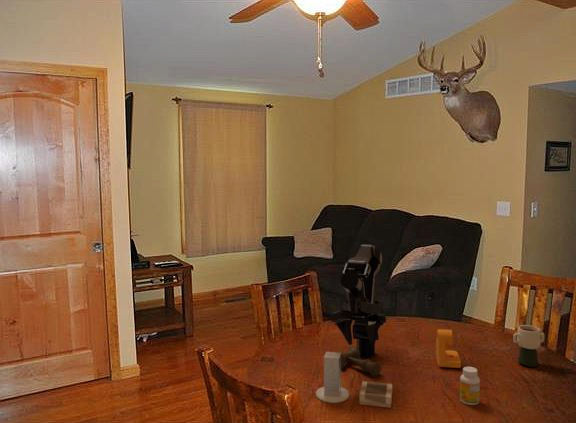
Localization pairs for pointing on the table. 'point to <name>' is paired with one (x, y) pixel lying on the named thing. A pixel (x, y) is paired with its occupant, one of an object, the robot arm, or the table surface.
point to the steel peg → (332, 374)
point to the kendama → (360, 361)
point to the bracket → (446, 356)
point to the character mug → (528, 344)
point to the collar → (376, 394)
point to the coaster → (343, 397)
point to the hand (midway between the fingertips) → (362, 345)
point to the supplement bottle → (469, 386)
